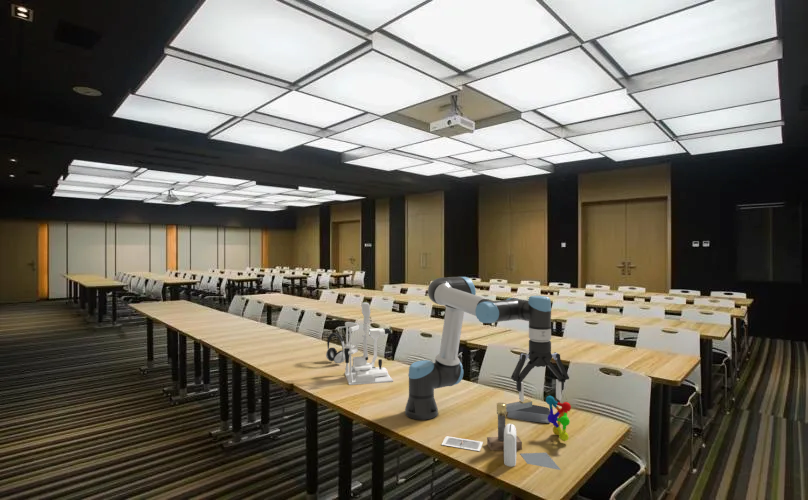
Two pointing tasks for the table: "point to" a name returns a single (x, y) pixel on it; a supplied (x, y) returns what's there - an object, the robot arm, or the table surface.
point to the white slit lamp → (364, 354)
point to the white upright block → (510, 445)
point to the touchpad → (462, 443)
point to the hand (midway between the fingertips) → (540, 399)
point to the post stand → (501, 437)
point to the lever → (512, 406)
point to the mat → (540, 460)
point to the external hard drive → (531, 414)
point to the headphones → (332, 353)
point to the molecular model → (562, 417)
